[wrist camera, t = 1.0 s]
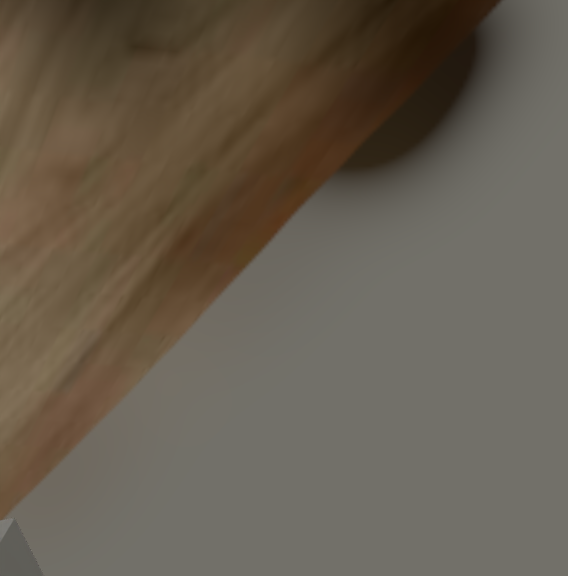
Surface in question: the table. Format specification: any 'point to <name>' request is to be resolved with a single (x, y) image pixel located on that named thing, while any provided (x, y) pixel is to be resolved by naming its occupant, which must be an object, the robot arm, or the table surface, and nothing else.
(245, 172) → the table surface
